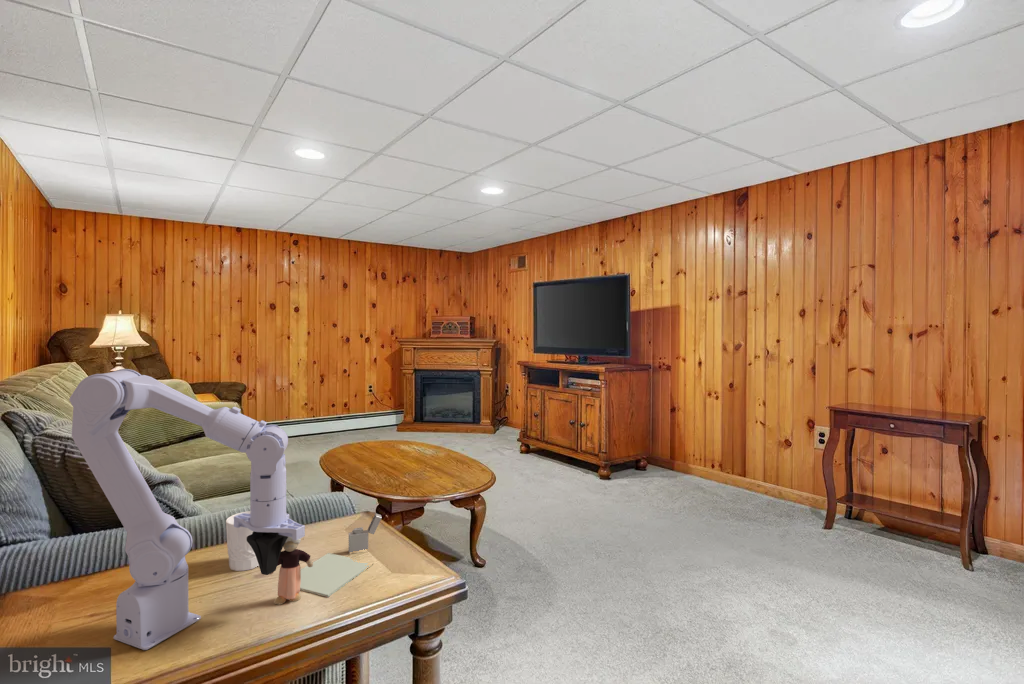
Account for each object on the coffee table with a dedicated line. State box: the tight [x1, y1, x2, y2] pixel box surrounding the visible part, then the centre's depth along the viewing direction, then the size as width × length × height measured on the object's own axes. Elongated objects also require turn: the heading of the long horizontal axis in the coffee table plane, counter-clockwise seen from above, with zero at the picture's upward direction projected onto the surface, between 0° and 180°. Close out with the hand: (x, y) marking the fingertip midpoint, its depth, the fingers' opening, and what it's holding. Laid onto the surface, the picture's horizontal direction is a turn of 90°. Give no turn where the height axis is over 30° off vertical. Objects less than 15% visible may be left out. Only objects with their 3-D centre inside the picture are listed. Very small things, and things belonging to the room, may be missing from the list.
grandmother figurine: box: [269, 537, 314, 605], centre depth 94 cm, size 8×4×13 cm, turn 123°
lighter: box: [348, 513, 382, 553], centre depth 115 cm, size 7×2×8 cm, turn 114°
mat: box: [300, 552, 369, 598], centre depth 104 cm, size 14×12×1 cm
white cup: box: [225, 510, 259, 572], centre depth 108 cm, size 8×8×10 cm
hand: (268, 572), depth 90 cm, fingers closed
